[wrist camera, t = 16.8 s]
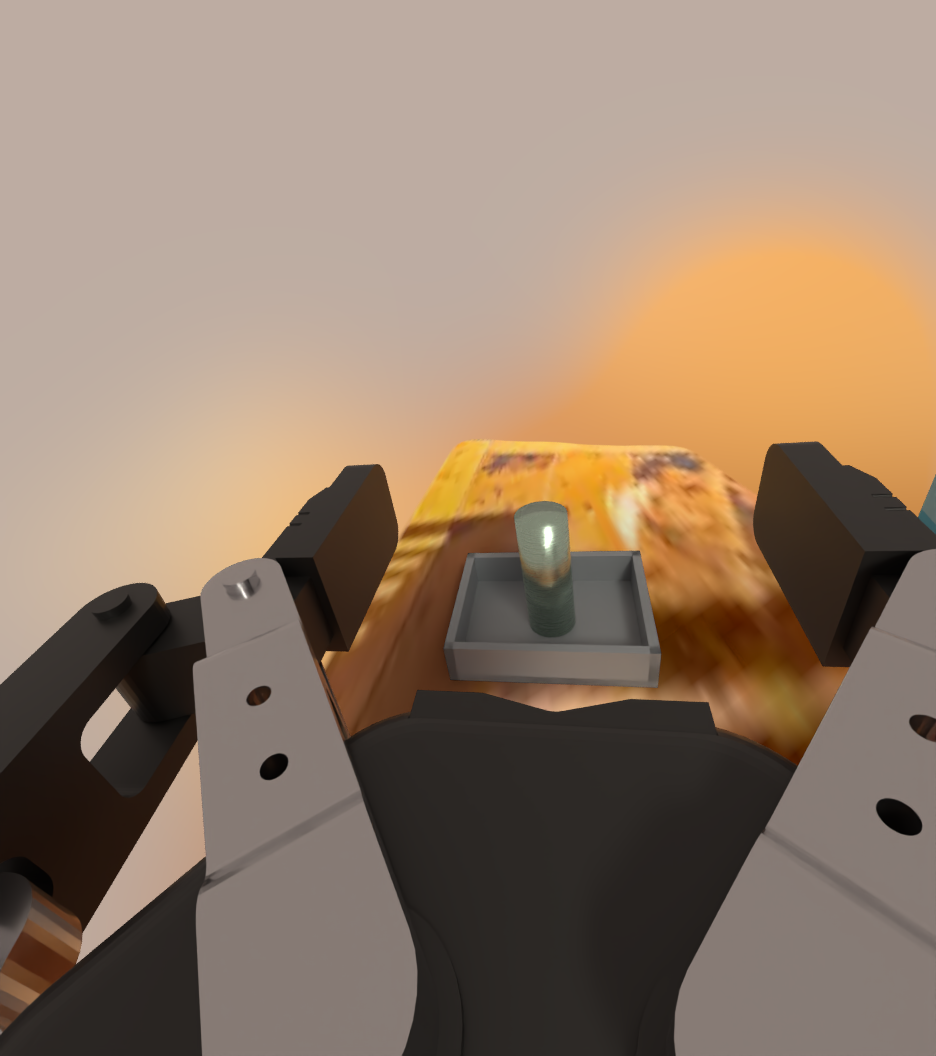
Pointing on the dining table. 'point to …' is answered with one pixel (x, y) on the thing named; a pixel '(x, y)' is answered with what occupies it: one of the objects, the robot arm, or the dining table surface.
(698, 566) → the dining table surface
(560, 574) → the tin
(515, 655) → the tote
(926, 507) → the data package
